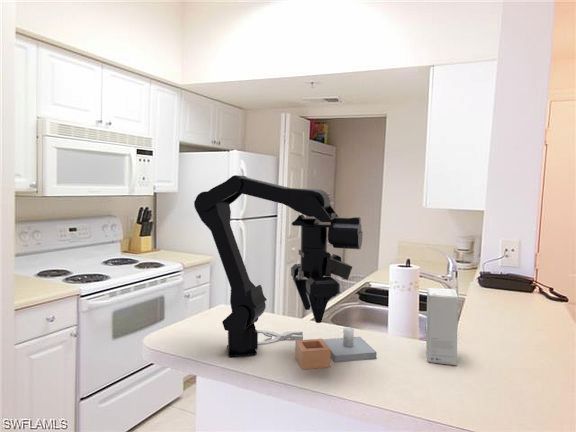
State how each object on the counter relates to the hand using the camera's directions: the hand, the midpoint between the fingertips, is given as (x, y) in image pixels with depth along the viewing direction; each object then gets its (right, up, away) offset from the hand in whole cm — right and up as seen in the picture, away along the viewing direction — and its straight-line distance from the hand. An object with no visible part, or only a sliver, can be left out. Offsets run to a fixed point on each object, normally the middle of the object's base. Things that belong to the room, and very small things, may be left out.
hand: (312, 315), depth 94 cm
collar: (0, -11, +1) cm, 11 cm away
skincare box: (+30, -11, +4) cm, 32 cm away
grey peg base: (+9, -10, +7) cm, 15 cm away
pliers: (-9, -10, +15) cm, 20 cm away
